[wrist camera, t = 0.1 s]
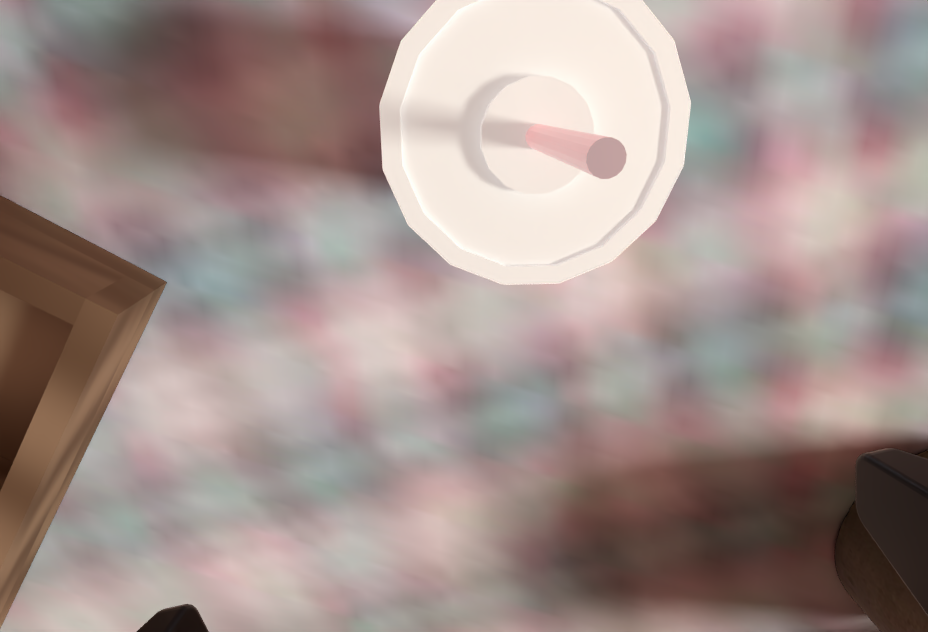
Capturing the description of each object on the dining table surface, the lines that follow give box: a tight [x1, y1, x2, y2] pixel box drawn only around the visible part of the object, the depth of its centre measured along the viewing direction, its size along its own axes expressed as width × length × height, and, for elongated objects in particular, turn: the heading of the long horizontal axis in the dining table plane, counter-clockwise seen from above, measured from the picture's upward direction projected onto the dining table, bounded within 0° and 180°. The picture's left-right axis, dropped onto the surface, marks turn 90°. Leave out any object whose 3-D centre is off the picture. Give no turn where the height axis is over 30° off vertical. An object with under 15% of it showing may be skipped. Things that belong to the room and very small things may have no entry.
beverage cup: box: [379, 0, 691, 285], centre depth 13 cm, size 6×6×14 cm
